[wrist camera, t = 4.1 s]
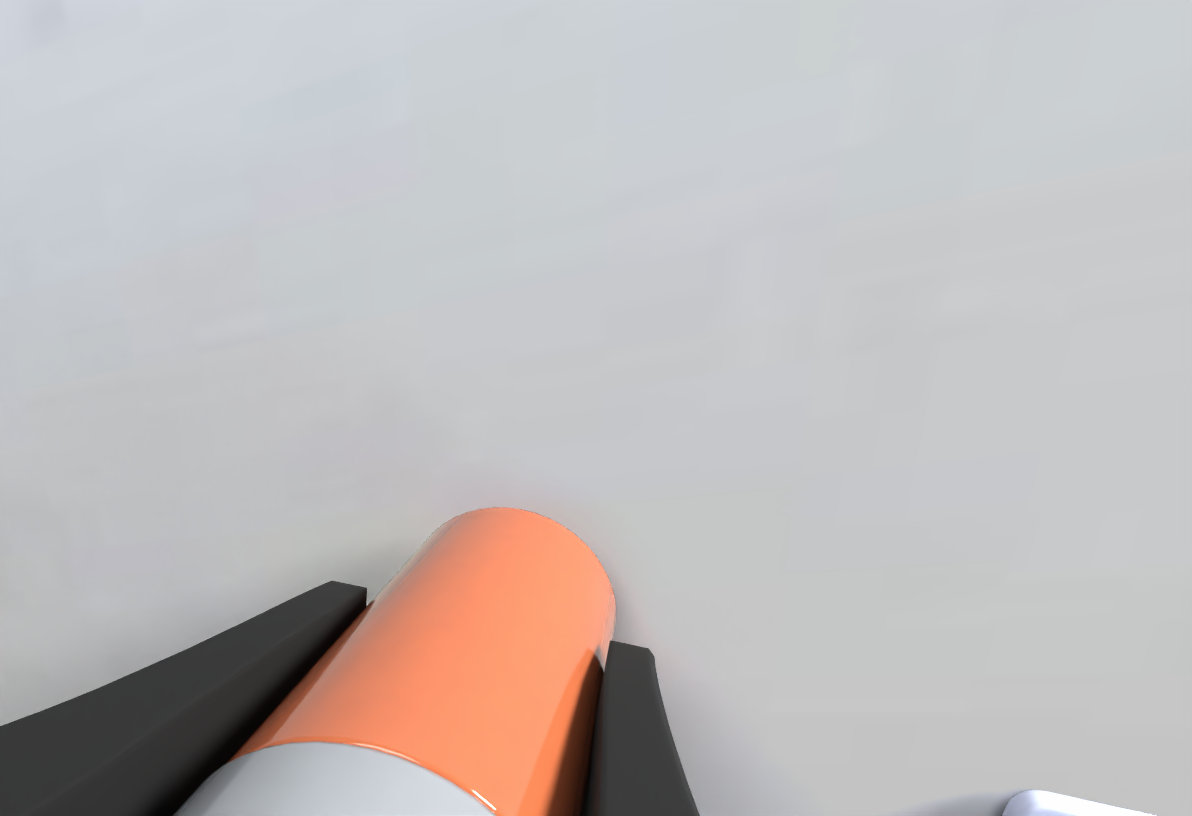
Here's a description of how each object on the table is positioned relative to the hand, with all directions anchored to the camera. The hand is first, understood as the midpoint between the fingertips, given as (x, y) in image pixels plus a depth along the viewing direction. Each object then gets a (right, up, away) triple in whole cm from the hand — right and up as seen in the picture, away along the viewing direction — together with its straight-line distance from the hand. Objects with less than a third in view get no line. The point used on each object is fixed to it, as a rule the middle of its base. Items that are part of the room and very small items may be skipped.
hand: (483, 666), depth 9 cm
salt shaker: (0, 0, +2) cm, 2 cm away
